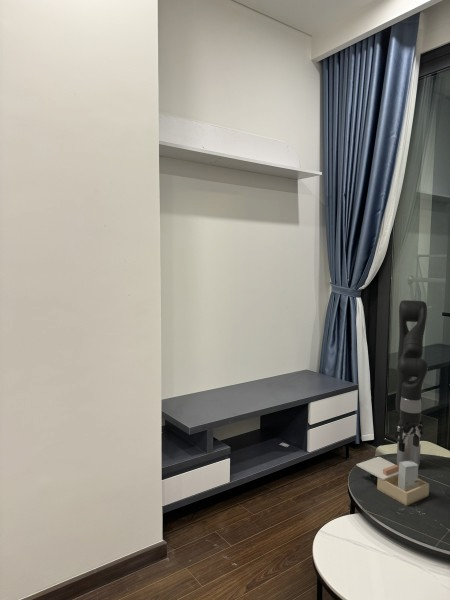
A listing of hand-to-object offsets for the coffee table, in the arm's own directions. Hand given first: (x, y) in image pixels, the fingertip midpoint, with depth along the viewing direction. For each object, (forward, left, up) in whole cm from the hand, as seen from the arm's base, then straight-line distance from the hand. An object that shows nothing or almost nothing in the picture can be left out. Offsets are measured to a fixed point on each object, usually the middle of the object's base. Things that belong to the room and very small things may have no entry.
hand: (408, 448), depth 166 cm
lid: (0, -13, -14) cm, 19 cm away
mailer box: (0, -2, -19) cm, 19 cm away
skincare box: (0, 0, -19) cm, 19 cm away
